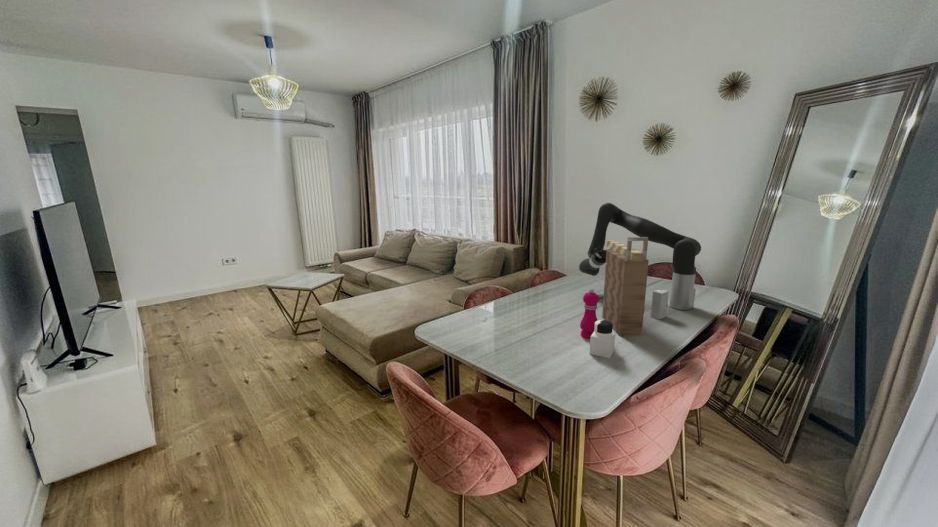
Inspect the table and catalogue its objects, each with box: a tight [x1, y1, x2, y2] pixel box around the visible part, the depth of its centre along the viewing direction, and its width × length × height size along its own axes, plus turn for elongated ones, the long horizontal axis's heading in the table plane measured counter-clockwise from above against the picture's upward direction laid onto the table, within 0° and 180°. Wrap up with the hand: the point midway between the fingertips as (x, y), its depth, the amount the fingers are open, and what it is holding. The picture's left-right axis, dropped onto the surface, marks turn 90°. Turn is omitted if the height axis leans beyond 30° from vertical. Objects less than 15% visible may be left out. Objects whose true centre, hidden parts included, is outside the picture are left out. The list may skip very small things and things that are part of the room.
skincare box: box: [650, 288, 670, 320], centre depth 161 cm, size 6×4×12 cm
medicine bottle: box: [589, 319, 616, 359], centre depth 130 cm, size 7×7×12 cm
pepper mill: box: [579, 288, 600, 340], centre depth 142 cm, size 7×7×20 cm
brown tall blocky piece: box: [601, 236, 650, 337], centre depth 149 cm, size 20×9×40 cm, turn 179°
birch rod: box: [606, 239, 643, 261], centre depth 150 cm, size 30×3×3 cm, turn 179°
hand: (609, 247), depth 166 cm, fingers open, 8 cm apart
